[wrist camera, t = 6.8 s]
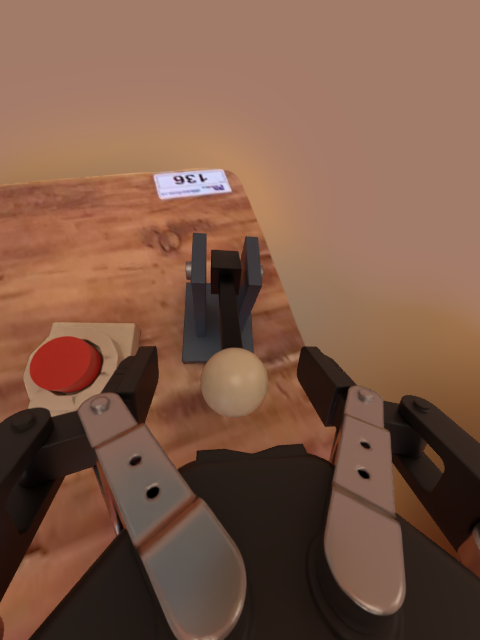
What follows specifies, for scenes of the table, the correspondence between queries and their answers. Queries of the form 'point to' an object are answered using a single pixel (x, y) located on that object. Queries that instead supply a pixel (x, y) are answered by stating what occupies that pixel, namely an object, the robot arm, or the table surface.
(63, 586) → the table surface
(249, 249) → the switch bracket
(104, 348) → the control box
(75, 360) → the power button
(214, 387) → the switch lever
